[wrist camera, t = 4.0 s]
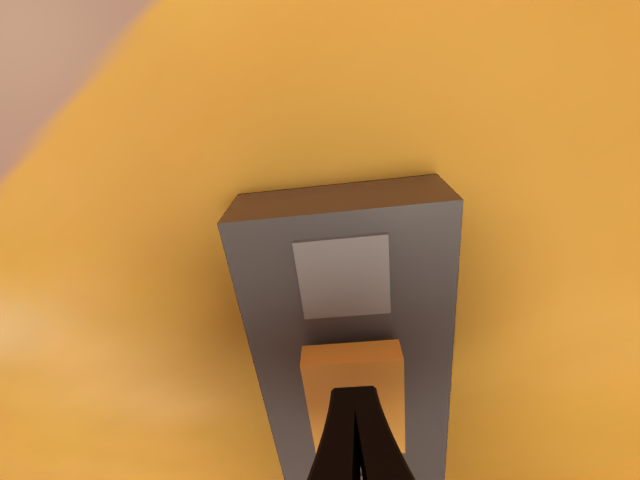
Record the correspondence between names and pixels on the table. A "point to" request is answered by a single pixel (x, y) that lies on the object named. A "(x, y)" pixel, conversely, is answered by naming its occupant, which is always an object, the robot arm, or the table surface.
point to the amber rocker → (355, 379)
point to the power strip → (349, 297)
